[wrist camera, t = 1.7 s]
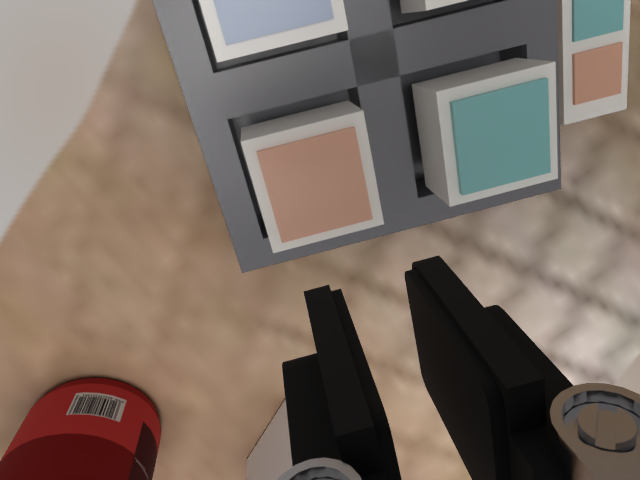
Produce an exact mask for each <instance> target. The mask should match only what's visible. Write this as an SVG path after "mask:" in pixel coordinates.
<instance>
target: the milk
mask: <svg viewBox="0 0 640 480" xmlns="http://www.w3.org/2000/svg"><path fill="white" fill-rule="evenodd" d="M292 467H293V466H292V457H291V447H290V437H289V427H288V418H287V408H286V398H285V400H284V402H283V403H282V405H281V406H280V408H279V410H278V411H277V413H276V414H275V416H274V417H273V419H272V421H271V422H270V424H269V425H268V427H267V428H266V430H265V432H264V433H263V435H262V436H261V438H260V439H259V441H258V443H257V444H256V446H255V447H254V449H253V451H252V452H251V454H250V455H249V457H248V459H247V480H278V479H279V477H280V476H281V475H282V474H283V473H284V472H286V471H287V470H289V469H290V468H292Z"/></svg>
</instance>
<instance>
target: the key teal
mask: <svg viewBox="0 0 640 480" xmlns="http://www.w3.org/2000/svg"><path fill="white" fill-rule="evenodd" d="M412 91H413V98H414V106H415V113H416V120H417V127H418V134H419V141H420V148H421V156H422V163H423V170H424V177H425V184H426V187H427V188H429V189H430V190H431V191H432V192H433V193H434V194H436V195H437V196H438V197H439V198H440V199H441V200H442V201H444V202H445V203H446V204H447V205H448V206H449V207H452V206H455V205H459V204H463V203H467V202H471V201H474V200H478V199H482V198H486V197H490V196H493V195H497V194H501V193H505V192H509V191H512V190H516V189H520V188H524V187H528V186H531V185H535V184H539V183H543V182H547V181H550V180H554V179H558V155H557V109H556V63H555V62H554V61H544V60H533V59H523V58H513V59H509V60H505V61H501V62H497V63H493V64H489V65H485V66H481V67H477V68H474V69H470V70H466V71H462V72H458V73H454V74H450V75H446V76H442V77H438V78H434V79H430V80H426V81H422V82H418V83H414V84H412Z"/></svg>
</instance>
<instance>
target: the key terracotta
mask: <svg viewBox="0 0 640 480" xmlns="http://www.w3.org/2000/svg"><path fill="white" fill-rule="evenodd" d="M240 142H241V145H242V149H243V152H244V156H245V159H246V162H247V166H248V169H249V173H250V176H251V179H252V183H253V186H254V190H255V193H256V196H257V200H258V203H259V207H260V210H261V213H262V217H263V220H264V224H265V227H266V230H267V234H268V237H269V241H270V244H271V247H272V251H273V253H277V252H281V251H284V250H288V249H292V248H296V247H300V246H303V245H307V244H311V243H315V242H319V241H322V240H326V239H330V238H334V237H338V236H341V235H345V234H349V233H353V232H357V231H360V230H364V229H368V228H372V227H376V226H379V225H383V224H384V220H383V215H382V209H381V204H380V199H379V193H378V188H377V182H376V177H375V171H374V166H373V160H372V155H371V150H370V144H369V139H368V133H367V128H366V122H365V117H364V111H363V110H362V109H360V108H359V107H357V106H356V105H354V104H353V103H352V102H350V101H349V100H347V101H343V102H339V103H335V104H331V105H327V106H324V107H320V108H316V109H312V110H308V111H304V112H300V113H296V114H292V115H288V116H284V117H280V118H276V119H272V120H268V121H264V122H260V123H256V124H252V125H249V126H245V127H241V141H240Z"/></svg>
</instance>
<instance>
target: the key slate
mask: <svg viewBox="0 0 640 480" xmlns="http://www.w3.org/2000/svg"><path fill="white" fill-rule="evenodd" d="M199 3H200V6H201V9H202V13H203V16H204V20H205V23H206V26H207V30H208V33H209V37H210V40H211V43H212V47H213V50H214V54H215V57H216V60H217V63H218V62H222V61H226V60H230V59H234V58H238V57H242V56H246V55H250V54H254V53H258V52H262V51H266V50H270V49H274V48H278V47H282V46H286V45H290V44H294V43H298V42H302V41H306V40H310V39H314V38H318V37H322V36H326V35H330V34H335V33H339V32H343V31H347V30H348V24H347V19H346V13H345V8H344V2H343V0H199Z"/></svg>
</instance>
